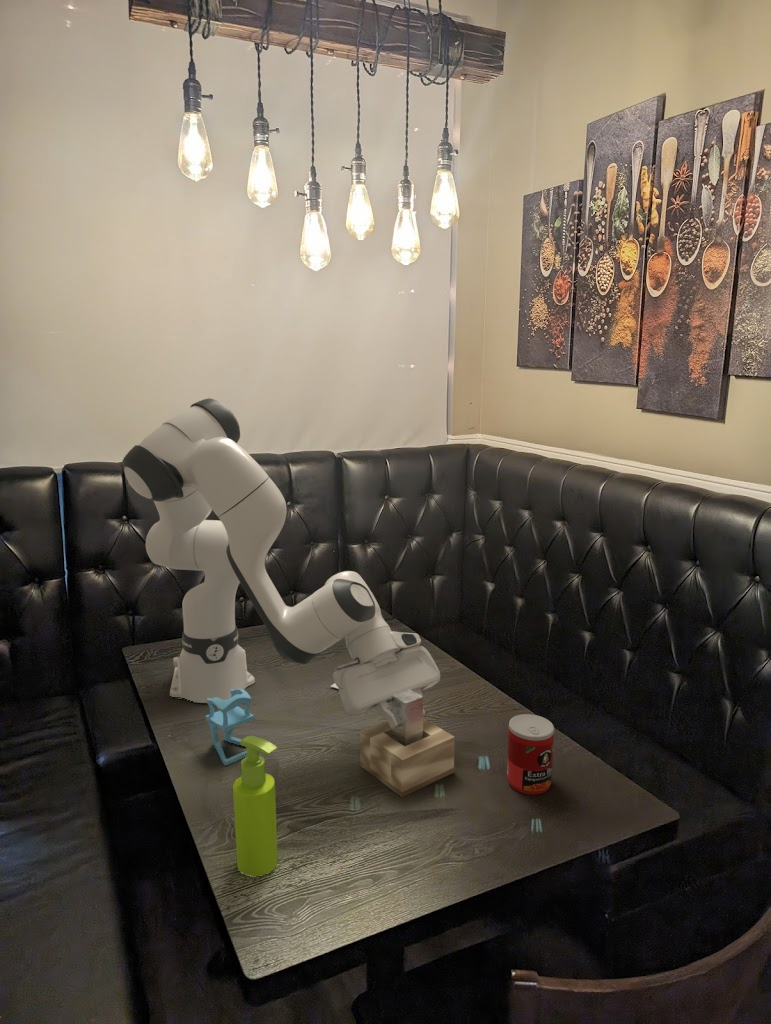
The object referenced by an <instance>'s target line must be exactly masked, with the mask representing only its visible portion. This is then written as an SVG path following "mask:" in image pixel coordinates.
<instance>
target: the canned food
mask: <svg viewBox="0 0 771 1024" xmlns="http://www.w3.org/2000/svg"><path fill="white" fill-rule="evenodd" d="M507 734H508V737H507V759H506V761H507V763H506V777H507V782H508V783H509V785H510V786H511V787H512V788H513V789H514V790H516V791H518V792H519V793H521V794H525V795H531V796H532V795H536V796H537V795H541V794H544V793H546V792H548V791H549V789H550V787H551V784H552V776H553V758H554V743H555V742H554V740H555V726H554V724H553V723H552V722H551V721H550V720H549V719H547V718H545V717H543V716H540V715H538V714H537V715H536V714H532V713H531V714H530V713H523V714H516V715H514V716H513V717H512V718H510V720H509V724H508V731H507Z"/></svg>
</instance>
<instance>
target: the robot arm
mask: <svg viewBox="0 0 771 1024" xmlns="http://www.w3.org/2000/svg"><path fill="white" fill-rule="evenodd" d="M240 439H241V428H240V424H239V422H238V420H237V417H236V416H235V415H234V413H233V411H231V409H230V408H229V407H228V406H226V404H224V403H223V402H221V401H220V400H217V399H214V398H210V397H209V398H204V399H202V400H198V401H197V402H194V403H192V404H191V405H190V407H188V408H187V409H185V410H183V411H181V412H179V413H177V414H175V415H174V416H172V417H171V418H169V419H167V420H166V421H165V422H163V423H162V424H161V425H160V426H159V427H158V428H156V429H155V430H154V431H152V432H151V433H149V434H148V435H147V436H146V437H144V438H143V439H142V441H141V442H140V443H139V444H137V445H136V444H135V445H134V446H133V447H132V448H131V449H130V450H128V452H127V453H126V455H125V456H124V457H123V458H122V471H123V474H124V476H125V479H126V481H127V482H128V484H129V485H130V487H131V488H132V489H133V490H134V491H135V492H136V493H137V494H138V495H140V496H141V497H143V498H144V499H146V500H147V501H151V502H153V503H154V506H155V507H156V510H157V512H158V515H159V520H158V521H157V522H155V523H154V524H153V525H151V527H150V529H149V531H148V533H147V535H146V538H145V550H146V554H147V556H148V557H149V559H150V561H151V562H152V563H153V564H155V565H158V566H160V567H165V568H168V569H173V570H182V571H183V570H185V571H199V572H200V571H201V572H204V581H203V582H202V583H199V584H198V585H196V586H194V587H191V588H190V589H189V590H187V592H186V593H185V594H184V597H183V599H182V603H181V604H182V621H183V631H182V633H181V634H182V635H181V642H182V648H181V652H180V655H179V656H176V657H173V659H172V661H173V667H174V671H173V674H172V680H171V684H170V689H169V697H170V696H172V697H181V698H180V699H182V698H185V699H187V700H186V701H188V700H190V701H189V702H191V701H193V702H192V703H200V704H208V702H207V698H210V699H212V698H216V697H218V698H220V699H222V700H228V699H229V698H231V691H230V690H231V689H233V690H237V689H243V690H246V688H248V687H249V686H252V685H254V683H256V679H255V677H254V675H252V674H251V673H250V672H249V671H248V667H247V665H248V664H247V656H246V650H245V649H243V647H242V646H240V645H239V631H238V626H237V625H236V594H237V590H238V587H239V585H241V587H242V588H243V589H244V592H245V593H246V595H247V597H248V598H249V600H250V602H251V604H252V605H253V606H254V609H255V611H256V612H257V614H258V616H259V617H260V619H261V621H262V622H263V624H264V626H265V628H266V631H267V632H268V635H269V637H270V639H271V642H272V644H273V646H274V648H275V650H276V651H277V653H278V655H279V656H280V657H282V659H284V660H285V661H287V662H289V663H294V664H300V665H308V664H309V663H310V662H313V660H314V659H315V658H317V657H319V656H320V655H321V654H322V653H324V651H325V650H327V649H329V648H330V647H332V646H333V645H335V644H336V643H338V642H339V641H341V640H343V639H344V640H345V645H346V648H347V651H348V652H349V654H350V655H349V656H350V657H351V660H350V659H349V660H348V661H346V662H340V663H337V665H336V664H335V665H336V666H335V667H334V669H333V670H332V672H331V673H332V674H331V677H332V679H333V681H334V683H335V684H336V685H337V687H338V689H337V690H338V693H339V697H340V700H341V703H342V706H343V709H344V711H345V712H346V713H347V714H348V715H350V716H351V717H355V716H357V715H359V714H360V715H361V714H362V713H365V712H368V711H371V710H373V709H375V711H376V712H377V714H378V715H379V716H381V718H383V719H385V721H388V723H389V725H390V727H391V728H392V729H393V728H396V727H398V726H400V725H401V724H402V721H401V720H400V717H399V715H398V714H397V715H394V714H393V713H392V712H391V710H390V709H389V704H390V703H391V699H392V697H393V696H392V695H395V694H398V693H400V692H403V691H406V690H409V689H410V690H412V691H414V692H416V693H418V694H419V695H421V696H423V693H422V691H424V690H426V689H429V688H432V687H434V686H435V685H437V683H439V682H440V679H441V672H440V669H439V668H438V666H437V663H436V662H435V660H434V658H433V656H432V655H431V653H430V652H429V650H427V648H426V647H424V646H422V645H420V644H422V639H421V637H420V635H419V634H418V633H414V632H401V631H394V630H393V631H392V630H391V627H390V625H389V624H388V623H387V622H386V620H385V619H384V617H383V614H382V610H381V608H380V605H379V603H378V601H377V598H376V597H375V595H374V593H373V592H372V591H371V589H370V587H369V585H368V584H367V583H366V581H365V580H364V579H363V578H362V576H361V575H360V574H359V573H358V572H356V571H351V570H344V571H341V572H337V573H335V574H334V575H332V576H330V577H329V578H328V579H327V580H326V582H325V583H324V585H323V586H321V588H319V589H317V590H316V591H314V592H313V593H312V594H311V595H309V596H307V597H306V598H305V599H303V600H301V601H299V603H297V604H295V605H294V606H289V605H286V603H285V602H284V600H283V598H282V596H281V595H280V593H279V591H278V590H277V588H276V586H275V585H274V583H273V581H272V579H271V578H270V576H269V574H268V572H267V569H266V564H265V563H266V562H265V561H266V557H267V554H268V552H269V550H270V549H271V547H272V546H273V544H274V542H275V541H276V540H277V538H278V536H279V535H280V532H281V531H282V529H283V527H284V524H285V522H286V518H287V502H286V500H285V498H284V496H283V494H282V492H281V491H280V489H279V488H278V485H276V484H275V482H274V481H273V480H272V478H271V477H270V476H269V474H267V472H266V471H265V470H264V469H263V468H262V466H261V465H260V464H259V463H258V462H257V461H256V460H255V459H254V458H253V457H252V456H251V455H250V454H249V453H248V452H247V451H246V450H245V449H244V448H243V447H241V446H240V445H239V444H238V443H239V440H240ZM211 512H214V514H215V515H216V516H217V517H218V519H219V520H216V519H215V520H214V519H207V518H208V517H209V515H210V514H211ZM236 695H239V694H236ZM172 697H171V698H172ZM185 699H184V700H185ZM425 715H426V712H425V708H423V717H424V716H425Z"/></svg>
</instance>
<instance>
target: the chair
mask: <svg viewBox="0 0 771 1024" xmlns="http://www.w3.org/2000/svg"><path fill="white" fill-rule="evenodd" d="M230 691H231V698H229V699H227V700H222V699H220V698H218V697H216V698H212V699H210V698H207V702H208V703H207V706H208V708H209V714H207V715H205V721H207V723H208V726H209V729H210V733H211V737H212V738H211V739H212V746H213V745H214V746H215V747H214V746H213V747H214V749H215V748H216V749H215V750H217V751H216V752H218V753H217V755H218V754H219V755H218V756H220V757H219V759H220V758H221V759H220V761H221V760H222V761H221V763H222V762H223V763H224V764H225V765H228V764H230V763H232V762H234V761H236V762H238V761H237V760H239V759H241V760H243V759H244V757H247V754H246V750H245V751H242V752H239V753H238V754H235V755H232V756H230V757H229V758H227V757H226V754H225V752H224V749H223V747H222V744H221V743H220V742H221V741H219V740H220V739H219V736H218V732H217V730H218V729H219V730H221V731H222V732H223V733H224V736H223V741H224V740H225V741H224V742H226V741H228V742H231V743H234V744H233V745H235V744H237V745H236V746H239V745H240V741H241V740H242V739H241V738H238V737H234V736H232V734H233V731H234V730H235V727H238V726H241V725H243V724H246V723H250V722H251V721H254V719H255V718H254V716H255V715H254V714H252V713H250V710H249V708H250V705H251V701H252V697H251V696H250V694H249V693H248V692H247V691H246V689H244V690H243V689H237V690H233V689H231V690H230ZM236 694H239V695H236ZM213 705H214V706H215V707H216V708H217V709H218V711H216V712H215V708H214V706H213ZM242 705H245V706H244V708H241V707H240V706H242ZM228 742H227V743H228ZM231 743H230V744H231ZM241 747H243V745H241ZM244 748H246V746H244ZM242 758H243V759H242ZM239 761H240V760H239ZM223 763H222V764H223ZM234 763H235V762H234ZM224 764H223V765H224ZM232 764H233V763H232ZM225 765H224V766H225ZM230 765H231V764H230ZM228 766H229V765H228Z"/></svg>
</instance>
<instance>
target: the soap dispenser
mask: <svg viewBox="0 0 771 1024" xmlns="http://www.w3.org/2000/svg"><path fill="white" fill-rule="evenodd" d="M240 745H243V746H246V747H245V751H246V754H247V757H245V758H243V759H241V762H240V769H241V770H240V771H241V773H240V774H241V775H240V776H239V777H238V778H236V779H235V781H234V782H233V785H232V794H233V795H232V796H233V808H234V809H233V810H234V811H233V812H234V828H235V830H234V832H235V847H236V849H235V850H236V865H237V867H238V868H237V870H238V869H239V870H240V871H241V872H243V873H244V874H247V875H249V876H250V875H251V876H260V875H264V874H266V873H269V874H270V873H272V872H273V871H274V870H275V869H276V868H275V867H277V866H278V862H279V858H278V856H279V854H278V831H277V830H278V829H277V807H276V806H277V804H276V783H275V782H276V781H275V778H274V777H273V775H272V774H269V773H267V772H266V759H265V758H264V756H262V755H259V752H260V753H262V754H264V755H265V756H269V755H270V754H272V753H273V752H274V751H276V750H277V749H279V748H278V747H277V746H276V745H275V744H273V743H272V742H270V741H268V740H266V739H264V738H261V737H259V736H258V737H257V736H253V735H250V734H249V735H247V736H246V737H244V738H242V739H241V741H240ZM243 746H242V747H243ZM273 869H274V870H273ZM239 870H238V871H239ZM272 870H273V871H272ZM271 871H272V872H271ZM264 876H265V875H264Z"/></svg>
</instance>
